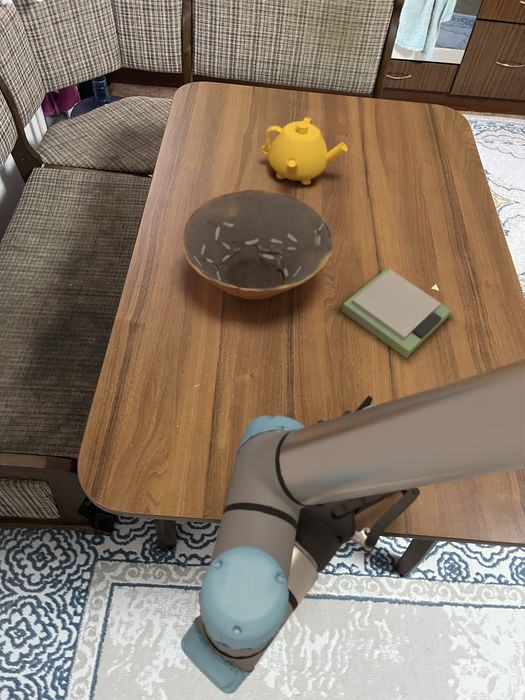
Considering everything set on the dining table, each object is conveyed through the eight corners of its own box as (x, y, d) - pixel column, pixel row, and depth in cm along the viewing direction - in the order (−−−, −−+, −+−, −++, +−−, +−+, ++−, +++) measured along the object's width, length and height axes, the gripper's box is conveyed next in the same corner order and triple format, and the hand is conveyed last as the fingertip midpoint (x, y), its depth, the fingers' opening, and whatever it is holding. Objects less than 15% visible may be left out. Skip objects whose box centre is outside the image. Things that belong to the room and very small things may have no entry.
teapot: (285, 200, 110) (292, 152, 101) (253, 163, 117) (256, 115, 108) (342, 182, 115) (353, 135, 106) (308, 148, 122) (315, 101, 113)
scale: (448, 317, 94) (454, 306, 92) (406, 358, 88) (411, 347, 86) (384, 274, 99) (388, 263, 97) (341, 310, 93) (344, 299, 91)
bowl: (307, 227, 106) (315, 185, 98) (337, 323, 91) (348, 283, 83) (180, 234, 102) (176, 191, 94) (189, 335, 88) (187, 294, 80)
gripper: (226, 505, 68) (328, 391, 79) (363, 622, 61) (454, 478, 72) (226, 482, 62) (337, 362, 73) (379, 609, 55) (475, 454, 66)
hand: (395, 420), depth 72 cm, fingers closed on cup, 8 cm apart
